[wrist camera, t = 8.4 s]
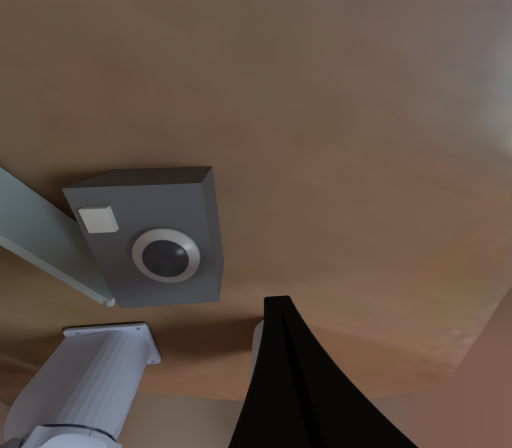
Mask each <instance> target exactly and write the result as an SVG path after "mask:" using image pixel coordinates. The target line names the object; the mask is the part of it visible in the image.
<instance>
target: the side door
mask: <svg viewBox="0 0 512 448" xmlns="http://www.w3.org/2000/svg"><path fill="white" fill-rule="evenodd" d="M0 245H1V246H3V247H4V248H6V249H8V250H9V251H11V252H13V253H15V254H16V255H18V256H20V257H21V258H23V259H25V260H27V261H28V262H30V263H32V264H33V265H35V266H37V267H39V268H40V269H42V270H44V271H46V272H47V273H49V274H51V275H52V276H54V277H56V278H58V279H59V280H61V281H63V282H64V283H66V284H68V285H70V286H71V287H73V288H75V289H76V290H78V291H80V292H82V293H83V294H85V295H87V296H88V297H90V298H92V299H94V300H95V301H97V302H99V303H100V304H102V305H104V306H106V307H112V306H113V305H114V303H115V302H116V300H115V298H114V296H113V294H112V292H111V290H110V287H109V285H108V283H107V281H106V279H105V277H104V275H103V273H102V271H101V269H100V267H99V265H98V263H97V261H96V259H95V257H94V254H93V252H92V250H91V248H90V246H89V244H88V242H87V240H86V238H85V236H84V234H83V232H82V230H81V228H80V226H79V224H78V223H77V222H76V221H74V220H73V219H72V218H70V217H69V216H67V215H66V214H65V213H63V212H62V211H61V210H59V209H58V208H56V207H55V206H54V205H52V204H51V203H49V202H48V201H47V200H45V199H44V198H43V197H41V196H40V195H38V194H37V193H36V192H34V191H33V190H32V189H30V188H29V187H27V186H26V185H25V184H23V183H22V182H21V181H19V180H18V179H16V178H15V177H14V176H12V175H11V174H9V173H8V172H7V171H5V170H4V169H3V168H1V167H0Z"/></svg>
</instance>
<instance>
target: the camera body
mask: <svg viewBox="0 0 512 448" xmlns="http://www.w3.org/2000/svg"><path fill="white" fill-rule="evenodd" d="M61 189H62V191H63V193H64V195H65V197H66V199H67V201H68V203H69V205H70V207H71V209H72V211H73V213H74V215H75V217H76V219H77V222H78V224H79V226H80V228H81V230H82V232H83V234H84V236H85V238H86V240H87V242H88V244H89V246H90V248H91V250H92V252H93V254H94V257H95V259H96V261H97V263H98V265H99V267H100V269H101V271H102V273H103V275H104V277H105V279H106V281H107V283H108V285H109V287H110V290H111V292H112V294H113V296H114V298H115V300H116V302H117V304H118V306H119V308H131V307H146V306H160V305H175V304H189V303H204V302H218V301H219V298H220V289H221V281H222V273H223V265H224V262H223V254H222V245H221V237H220V229H219V220H218V212H217V204H216V195H215V187H214V178H213V170H212V167H185V168H156V169H127V170H110V171H108V172H105V173H102V174H99V175H97V176H94V177H91V178H89V179H86V180H83V181H80V182H78V183H75V184H72V185H70V186H67V187H64V188H61Z"/></svg>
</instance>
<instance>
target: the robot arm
mask: <svg viewBox="0 0 512 448" xmlns="http://www.w3.org/2000/svg"><path fill="white" fill-rule="evenodd" d="M63 334H64V335H65V337H66V338H65V339H64V340H63V341H62V343H61V344H60V345H59V346H58V348H57V349H56V350H55V351H54V352H53V354H52V355H51V356H50V357H49V359H48V360H47V361H46V362H45V363H44V365H43V366H42V367H41V368H40V370H39V371H38V372H37V373H36V375H35V376H34V377H33V378H32V379H31V381H30V382H29V383H28V384H27V386H26V387H25V388H24V389H23V390H22V392H21V393H20V395H19V396H18V397H17V399H16V401H15V402H14V404H13V406H12V408H11V410H10V412H9V414H8V417H7V419H6V422H5V426H4V437H5V440H6V443H4V444H2V445H0V448H121V447H122V444H120V443H117V442H116V441H117V439H118V436H119V434H120V431H121V428H122V426H123V423H124V421H125V418H126V416H127V413H128V411H129V408H130V405H131V403H132V400H133V398H134V395H135V393H136V390H137V387H138V385H139V382H140V380H141V377H142V375H143V372H144V370H145V367H146V364H157V363H160V362H161V357H160V354H159V352H158V350H157V347H156V345H155V342H154V340H153V338H152V335H151V333H150V330H149V328H148V326H147V324H145V323H134V324H120V325H106V326H93V327H79V328H68V329H65V331H64V332H63ZM228 448H418V447H417V446H416V445H415V444H414V443H413V442H411V441H410V440H409V439H408V438H407V437H406V436H405V435H404V434H403V433H402V432H401V431H400V430H398V429H397V428H396V427H395V426H394V425H393V424H392V423H391V422H390V421H389V420H388V419H387V418H386V417H385V416H384V415H383V414H382V413H381V412H380V411H379V410H378V409H377V408H376V407H375V406H374V405H373V404H372V403H371V402H370V401H369V400H368V399H367V398H366V397H365V396H364V395H363V394H362V393H361V392H360V391H359V389H358V388H357V387H356V386H355V385H354V384H353V383H352V382H351V381H350V380H349V379H348V377H347V376H346V375H345V374H344V373H343V372H342V371H341V370H340V368H339V367H338V366H337V365H336V364H335V362H334V361H333V360H332V359H331V358H330V356H329V355H328V354H327V352H326V351H325V350H324V349H323V347H322V346H321V345H320V343H319V342H318V341H317V339H316V338H315V336H314V335H313V334H312V332H311V331H310V329H309V328H308V326H307V325H306V323H305V322H304V320H303V319H302V317H301V315H300V314H299V312H298V310H297V309H296V307H295V305H294V303H293V302H292V300H291V298H290V296H288V295H287V296H273V297H265V298H264V323H263V330H262V337H261V342H260V347H259V351H258V356H257V360H256V364H255V368H254V372H253V375H252V379H251V382H250V386H249V389H248V392H247V396H246V399H245V402H244V405H243V408H242V411H241V414H240V417H239V419H238V422H237V425H236V428H235V431H234V434H233V436H232V439H231V442H230V444H229V447H228Z"/></svg>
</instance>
